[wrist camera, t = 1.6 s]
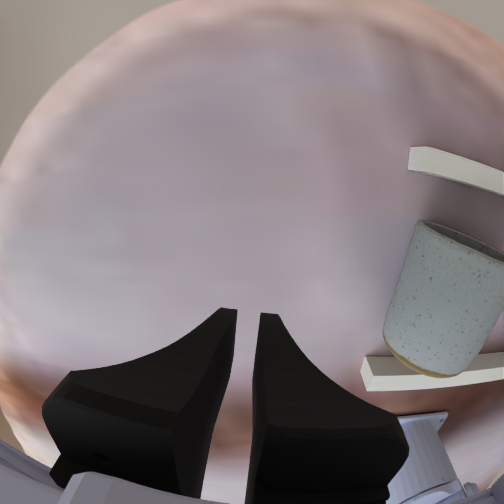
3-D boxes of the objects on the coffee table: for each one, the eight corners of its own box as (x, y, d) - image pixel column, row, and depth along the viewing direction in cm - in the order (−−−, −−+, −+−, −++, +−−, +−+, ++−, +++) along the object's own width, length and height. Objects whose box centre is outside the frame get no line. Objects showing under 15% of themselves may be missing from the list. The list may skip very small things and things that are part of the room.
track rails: (507, 362, 21) (519, 375, 19) (360, 371, 22) (367, 391, 20) (557, 200, 16) (574, 205, 14) (410, 147, 17) (427, 146, 15)
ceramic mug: (363, 321, 21) (398, 391, 13) (398, 211, 18) (462, 242, 11) (466, 333, 21) (512, 385, 13) (500, 244, 18) (563, 277, 11)
